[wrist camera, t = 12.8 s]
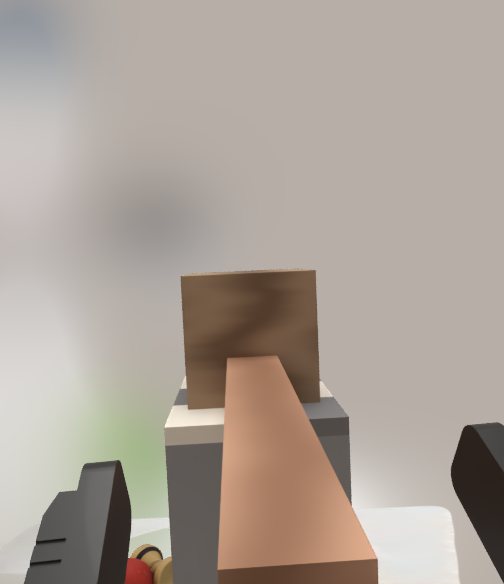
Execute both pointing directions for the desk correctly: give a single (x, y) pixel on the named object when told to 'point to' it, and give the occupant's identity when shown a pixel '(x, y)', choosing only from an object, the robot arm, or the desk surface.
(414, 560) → the desk surface
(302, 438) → the brown angular block
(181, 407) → the grey upright pillar
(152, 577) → the kendama
